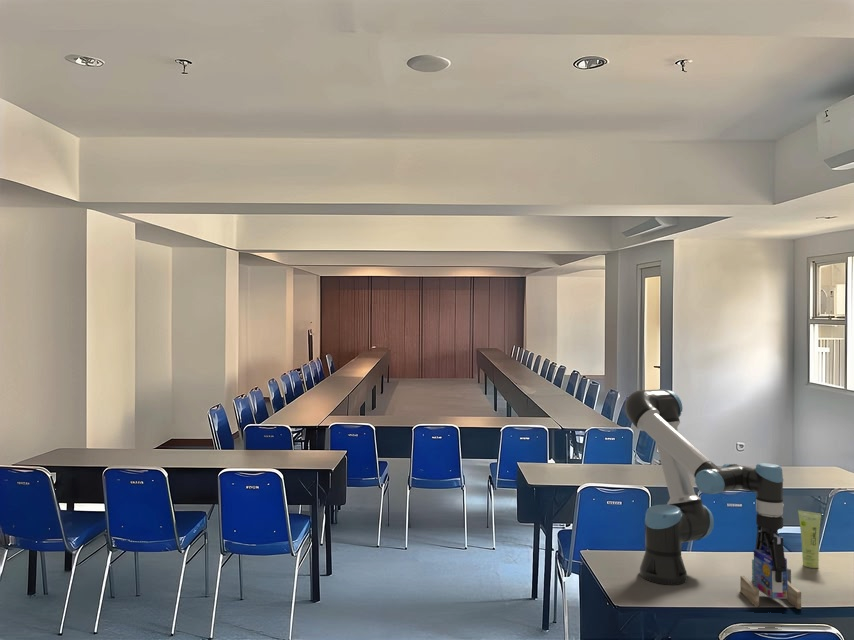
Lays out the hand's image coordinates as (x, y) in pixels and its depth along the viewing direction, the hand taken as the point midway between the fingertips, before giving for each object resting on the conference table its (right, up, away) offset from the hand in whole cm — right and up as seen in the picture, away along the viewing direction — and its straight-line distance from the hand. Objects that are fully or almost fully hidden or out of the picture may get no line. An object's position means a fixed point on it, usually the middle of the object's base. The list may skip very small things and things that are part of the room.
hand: (770, 585), depth 206 cm
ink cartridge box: (0, -3, 0) cm, 3 cm away
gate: (+6, -5, +11) cm, 14 cm away
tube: (+31, -6, +32) cm, 45 cm away
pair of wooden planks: (0, -4, 0) cm, 4 cm away
